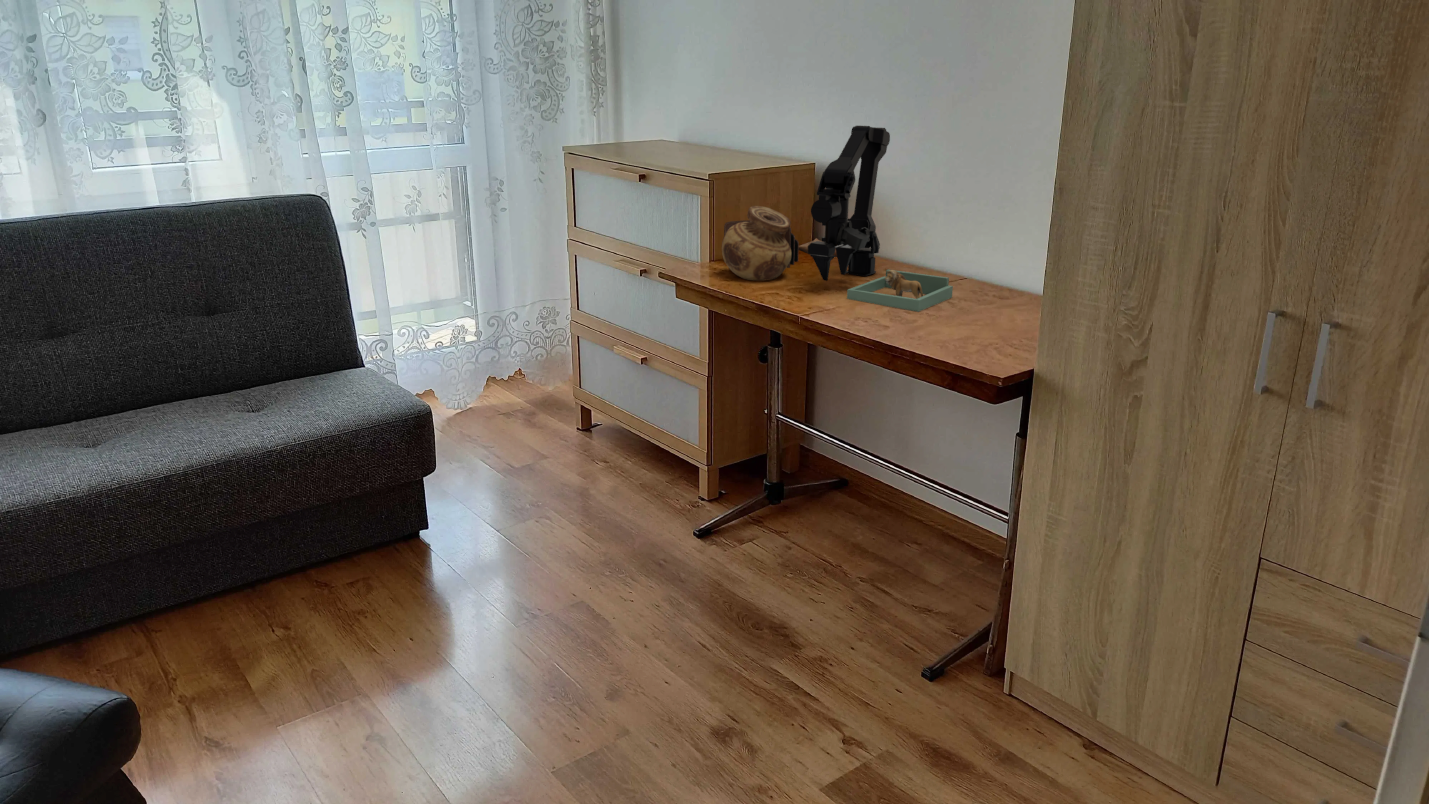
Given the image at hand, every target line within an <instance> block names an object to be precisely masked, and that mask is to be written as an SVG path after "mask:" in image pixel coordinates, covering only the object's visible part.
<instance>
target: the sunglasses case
mask: <svg viewBox="0 0 1429 804" xmlns="http://www.w3.org/2000/svg"><path fill="white" fill-rule="evenodd" d="M816 241H821V240H820V239H818V238H817V237H815V239H814V240H811V241H809V242H806V243H803V244H799V251H801V252H803V253H806V254H808V245H809V244H810V243H813V242H816ZM821 242H823V241H821ZM834 255H835V257H837V253H836V248H835V253H834Z"/></svg>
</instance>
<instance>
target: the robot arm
mask: <svg viewBox="0 0 1429 804" xmlns="http://www.w3.org/2000/svg"><path fill="white" fill-rule="evenodd" d="M850 133H851V134H850V136H849V138H848V140H847V141H846V143H845V145H844V147H843V149H842V150H841V152H840V154H839V155H838V158H837V159H835V160H833V161H831V162H829V164H828V165H827V167H825V169H824V171H823V172H822V175H821V177H820V181H819V184H818V188H817V191H816V195H817V196H818V199H817V200H816V201H814V202H813V203H812V205H811V208H810V216H811V217H812V219H813V220H814V221H816V222H817V223H821V226H824V236H821V240H820V241H816V242H813V243H810V244H809V245H808V253H807V255H810V257H811V258H812V259H813V261H814V263H815V265H816V267H817V270H818V272H819V273H820V277H821V278H822V280H823V281H824V282H825V281H826V282H827V281H828V280H829V276H830V267H831V261H832V260H833V259H835V258H834V257H835V255H834V253H835V248H836V253H837V258H836V259H837V262H838V263H837V264H838V268H839V272H840V275H844V276H845V275H853V276H860V277H868V276H870V275H873V274H877V271H876V257H875V254H879V253H880V246H881V244H880V241H879V238H878V234H877V232H876V229H877V226H876V224H875V222H874V219H873V217H872V214H873V206H874V199H875V191H876V185H877V177H878V169H879V165H880V164H879V163H880V161H881V160H882V158H883V157H884V156H885V155H886V153H887V149H888V146H889V144H890V143H891V142H890V141H891V134H890V132H889V131H887V129H886V127H873V126H870V125H855V126H853V127H852V128H851V132H850ZM860 159H861V160H860ZM859 161H860V167H859V175H858V180H857V181H858V182H857V187H856V196H855V204H854V212H853V214H852V215H851V217H850V218H849V203H850V202H849V201H850V198H851V193H852V190H853V188H854V185H855V182H856V176H855V175H856V174H855V169H856V167H857V165H858V163H859ZM821 241H823V242H821Z"/></svg>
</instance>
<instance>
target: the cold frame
mask: <svg viewBox="0 0 1429 804" xmlns="http://www.w3.org/2000/svg"><path fill="white" fill-rule="evenodd" d="M890 270H891V269H885V276H881V277H878V278H876V279H872V280H869V281H868V282H864V283H862V284H859V285H856V286H854V287H851V288H848V289H847V290H846V291H847V293H846V299H847V300H852V301H857V302H863V303H867V304H869V303H870V304H873V303H874V305H878V306H885V307H889V308H895V309H901V310H907V311H911V312H917V313H919V312H921V311H924V310H926V309H928V308H931V307H933V306H935V305H938V304H941V303H943V302H944V301H948V300H949V299H952V298H953V291H954V289H953V286H954V285H950V284H949V282H950V277H947V276H940V275H939V276H938V275H933V274H931V275H930V274H926V273H925V274H924V273H916V272H910V271H902V270H895V269H894V270H895V271H897V272H899V273H900V274H902V275H903V276H904V277H905V279H907V280H908V281H918V282H919V283H920V285H921V288H922V293H923V296H919V297H920V298H918V299H916V298H913V297H906V296H902V297H901V296H896V295H893V294H889V293H888V294H887V293H879V292H876V291H879V290H881V289H884V288H887V289H892V287H891V286H890V285H888V283H886V281H885V278H886V277H887V271H890ZM910 293H912V291H911V292H910Z"/></svg>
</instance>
